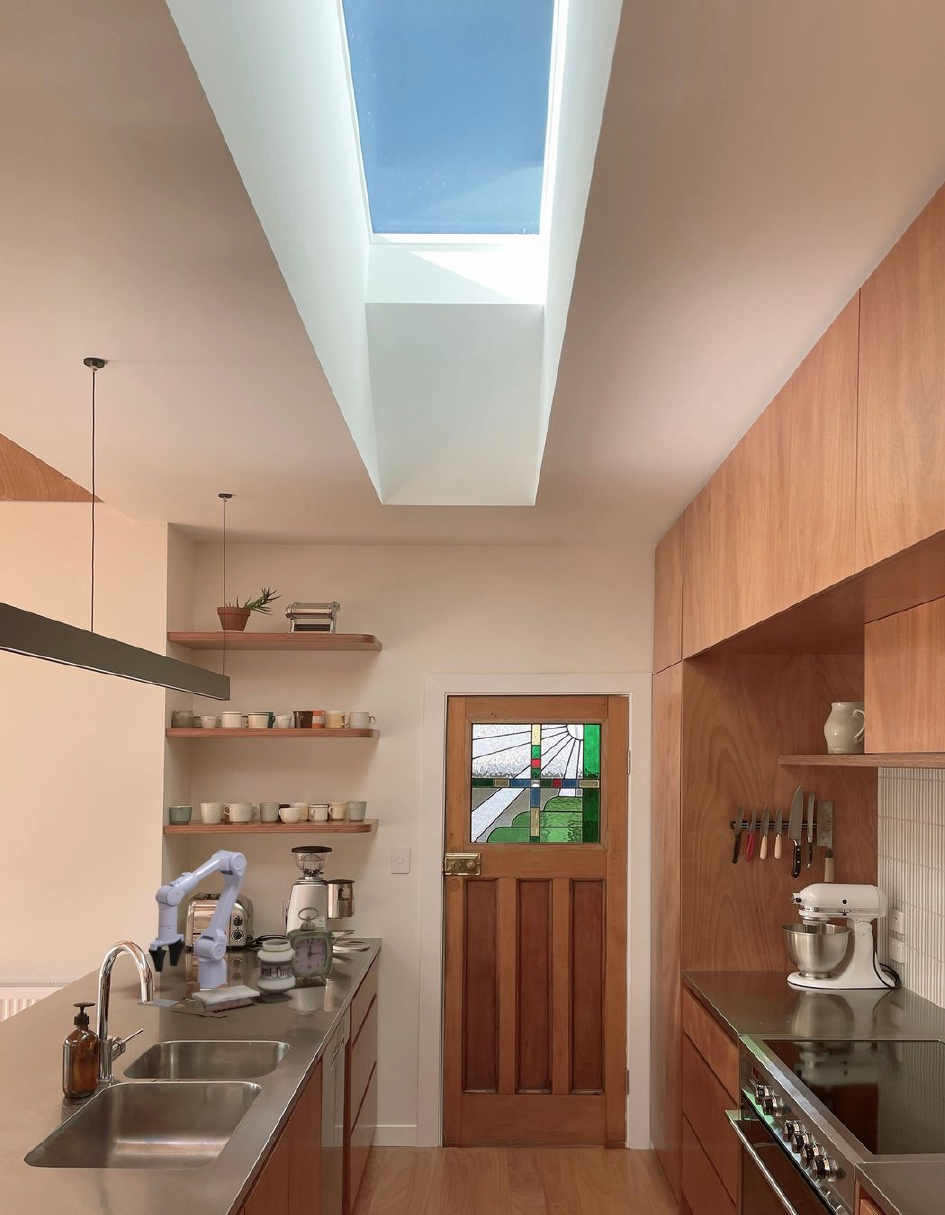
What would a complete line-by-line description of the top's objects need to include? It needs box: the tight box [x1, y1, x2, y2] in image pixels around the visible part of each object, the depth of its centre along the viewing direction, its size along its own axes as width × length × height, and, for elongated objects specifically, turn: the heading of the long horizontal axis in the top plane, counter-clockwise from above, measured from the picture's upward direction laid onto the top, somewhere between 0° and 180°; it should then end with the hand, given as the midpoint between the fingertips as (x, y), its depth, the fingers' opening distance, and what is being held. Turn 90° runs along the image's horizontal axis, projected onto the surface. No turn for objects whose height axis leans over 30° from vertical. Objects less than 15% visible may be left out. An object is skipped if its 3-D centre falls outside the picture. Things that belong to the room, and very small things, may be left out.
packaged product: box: [192, 984, 261, 1013], centre depth 324 cm, size 18×5×10 cm
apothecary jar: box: [256, 938, 297, 1004], centre depth 333 cm, size 12×12×18 cm
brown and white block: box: [184, 980, 201, 1002], centre depth 332 cm, size 9×4×5 cm, turn 69°
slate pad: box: [136, 997, 180, 1008], centre depth 328 cm, size 6×11×1 cm, turn 69°
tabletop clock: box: [284, 906, 333, 989], centre depth 352 cm, size 14×9×25 cm, turn 114°
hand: (166, 968), depth 337 cm, fingers open, 7 cm apart
